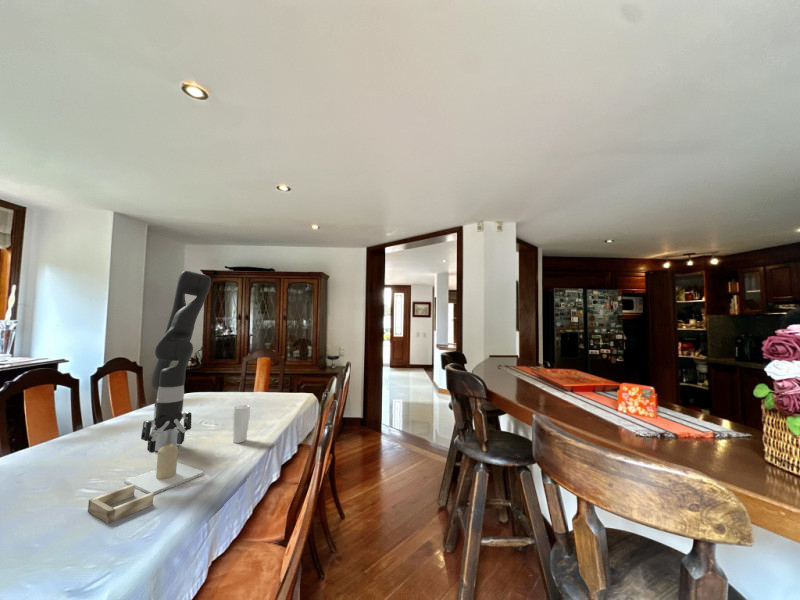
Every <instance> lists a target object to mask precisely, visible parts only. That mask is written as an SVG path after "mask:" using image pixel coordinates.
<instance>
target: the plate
mask: <svg viewBox="0 0 800 600" xmlns="http://www.w3.org/2000/svg"><path fill="white" fill-rule="evenodd" d="M156 470H157V468H156V469H153V470H151V471H147V472H145V473H141V474H139V475H135V476H133V477H130V478H126V479H124V480H123V481H124V482H123V483H124V484H126V485H127V486H129V485H132V484H134V485H135V489H137V490H139V491H141V492H143V493H146V495H147V494H149V493H153V494H154V495H156V494H159V493H161V492H163V490H164V491H166V490H169V489H171V488H174V487H176V486H178V485H177V484H179V485H180V483H181V484H183V483H182V482H184V483H185V481H186V482H188V481H190V480H189V479H191V480H193V479H195V477H196V478H198V477H200V476H199V475H201V476H203V475H204V474H205V471H203V470H200V469H197V468H194V467H191V466H188V465H186V464H183V463H180V462H178V461H177V468H176V474H175V475H174V476H172V477H170V478H166V479H157V478H156ZM202 474H203V475H202ZM197 476H198V477H197ZM192 478H193V479H192ZM187 480H188V481H187ZM175 485H176V486H175ZM173 486H174V487H173ZM170 487H171V488H170ZM168 488H169V489H168ZM165 489H166V490H165ZM160 491H161V492H160ZM158 492H159V493H158Z"/></svg>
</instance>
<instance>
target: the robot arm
mask: <svg viewBox="0 0 800 600" xmlns="http://www.w3.org/2000/svg"><path fill="white" fill-rule="evenodd" d="M211 284H212V279H211V276H209V275H208V274H207V275H206V274H203V273H197V272H194V271H190V270H183V271H181V272H180V274H179V277H178V280H177V285H176V289H175V290H176V291H175V295H174V300H173V306H172V309H171V313H170V317H169V318H168V319H169V320H168V322H167V325H166V330H165V334H164V335H163V337H162V338H161V339H160V340H159V341H158V343H157V344H156V347H155V350H154V354H155V357H156V359H157V361H156V365H155V367H154V370H153V372H152V377H151V387H152V388H153V389H154V390H156V391H157V392H156V399H155V401H154V409H153V411H154V412H153V420H144V421H143V423H142V430H141V436H140V439H141V440H142V441H145V442H147V446H146V447H147V449H146V450H147V452H149V453H151V454H154V453H155V452H158V450H159V449H160V448H162V447H163V446H166V445H167V444H170V443H172V444H174V445H175V446H177V447H178V446H179V445H182V444H183V443H184V441H185V434H186V432H187V431H189V430H191V428H192V413H191V411H190V412H189V411H185V412H183V409H184V408H183V407H184V398H185V384H186V371H187V368H188V364H189V362H190V360H191V357H192V355H193V351H194V345H193V343H192V337H193V334H194V329H195V325H196V321H197V318H198V316H199V313H200V311H201V310H202V307H203V306H204V303H205V301H206V299H207V296H208V294H209V292H210V288H211ZM186 295H189V296H194V297H195V298H194V300H192V301H191V302H189V303H188V304H187V303H186ZM174 361H175V362H177V361H178V362H177V364H176V365H174V366H173V365H172V366H171V363H172V362H174ZM182 419H183V424H182V423H181V421H182Z"/></svg>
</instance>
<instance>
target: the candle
mask: <svg viewBox="0 0 800 600" xmlns="http://www.w3.org/2000/svg"><path fill="white" fill-rule="evenodd" d="M178 453H179V447H178V446H175V445H174V444H172V443H170V444H167V445H166V446H163V447H162V448H160V449H159V450H158V451H157V458H156V459H157V460H156V461H157V462H156V469H157V470H156V469H155V470H156V478H157V479H166V478H170V477H172V476H174V475H175V474H176V468H177V462H178V455H179V454H178Z"/></svg>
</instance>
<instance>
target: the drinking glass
mask: <svg viewBox="0 0 800 600" xmlns="http://www.w3.org/2000/svg"><path fill="white" fill-rule="evenodd" d="M232 411H233V412H232V428H233V429H232V431H233V434H232V435H233V436H232V437H233V439H232V441H233V443H235V444H241V442H242V443H244V442H246V441H247V437H248V430H249V421H250V416H251V415H250V414H251V405H247V404H239V405H236V406H233V410H232Z"/></svg>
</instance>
